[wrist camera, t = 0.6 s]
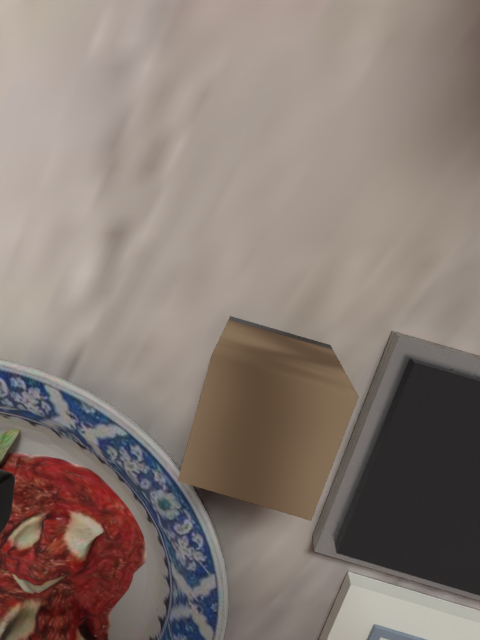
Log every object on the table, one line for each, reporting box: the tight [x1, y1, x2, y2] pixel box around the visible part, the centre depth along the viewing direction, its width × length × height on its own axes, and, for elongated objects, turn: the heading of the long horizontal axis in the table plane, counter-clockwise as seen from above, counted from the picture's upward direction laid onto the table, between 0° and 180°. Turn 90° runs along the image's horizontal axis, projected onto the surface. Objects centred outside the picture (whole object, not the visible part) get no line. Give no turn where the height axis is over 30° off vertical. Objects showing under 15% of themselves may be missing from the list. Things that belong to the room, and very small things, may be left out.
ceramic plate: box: [0, 360, 228, 640], centre depth 21 cm, size 26×26×3 cm
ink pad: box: [313, 331, 480, 601], centre depth 18 cm, size 12×12×2 cm
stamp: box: [178, 316, 359, 520], centre depth 16 cm, size 5×5×6 cm
